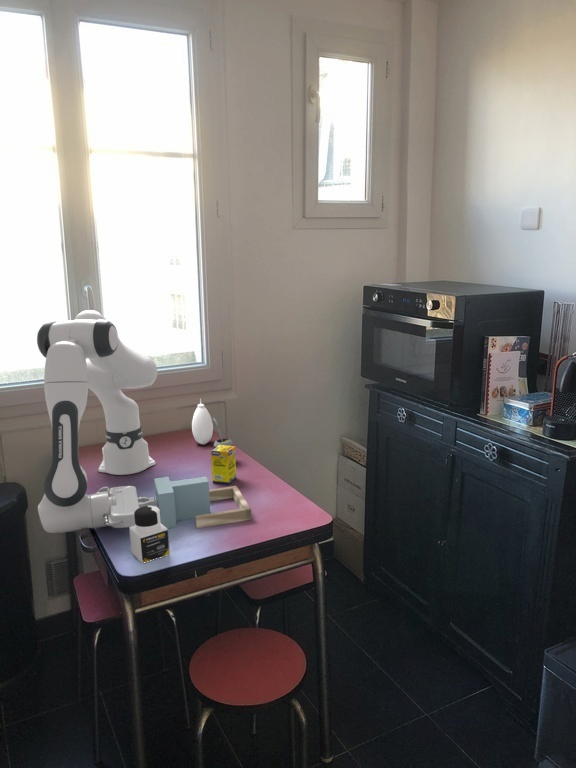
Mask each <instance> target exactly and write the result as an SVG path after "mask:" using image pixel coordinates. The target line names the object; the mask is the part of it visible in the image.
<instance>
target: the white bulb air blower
mask: <svg viewBox="0 0 576 768" xmlns="http://www.w3.org/2000/svg"><path fill="white" fill-rule="evenodd" d="M191 430H192V431H191V433H192V435H193V437H194V440H195V441H196V442H197V443H198V444H200V445H203V446H205V445H206V444H209V442H210V441H211V439H212V437H213V434H214V433H213V431H214V424H213V418H212V417H211V414H210V412H209V411H208V409H207V408H206V407H205V404H203V403H202V398H201V397H200V398H199V404H197V407H196V409H195V411H194V413H193V416H192V420H191Z"/></svg>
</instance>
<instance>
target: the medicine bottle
mask: <svg viewBox="0 0 576 768" xmlns="http://www.w3.org/2000/svg"><path fill="white" fill-rule="evenodd" d="M134 517H135V525H134V526H131V527H128V528H129V537H130V538H129V539H130V549H131V550H130V551H131V554H132V553H133V554H134V555H135V556H134V555H133V554H132V555H133V556H134V557H135V558H137V560H139V562H141V563H142V562H143V563H144V562H147V561H150V560H153V559H156V558H159V559H161V558H160V557H162V558H164V557H163V556H165V557H167V556H166V555H168V556H170V554H171V553H170V540H169V528H166V527H165V526H164V525H162V524H161V521H160V510H159V508H157V506H156V507H155V506H143V507H140V508H138V509H137V510H136V511H135V512H134ZM156 560H157V559H156ZM153 561H154V560H153ZM150 562H151V561H150ZM143 563H142V564H143ZM147 563H148V562H147ZM144 564H145V563H144Z"/></svg>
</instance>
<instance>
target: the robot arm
mask: <svg viewBox="0 0 576 768" xmlns="http://www.w3.org/2000/svg"><path fill="white" fill-rule="evenodd" d="M36 343H37V349H38V350H39V352H40V353H41V355H42V356H43V357H44V358H45V365H44V376H43V378H44V379H43V382H44V384H43V388H44V389H43V390H44V396H45V397H44V398H45V404H46V409H47V412H48V416H49V417H48V418H49V420H50V425H51V435H52V436H51V467H50V468H49V471H48V473H47V476H46V478H45V480H44V483H43V484H44V485H43V491H44V494H43V497H42V499H41V501H40V502H39V504H38V505H37V507H36V508H37V510H36V511H37V517H38V521H39V525H40V526H41V528H42V529H43V530H44V531H45V532H46V533H52V534H58V533H59V534H60V533H70V532H71V533H72V532H77V531H79V530H81V529H87V528H88V529H96V528H102V527H107V526H108V527H112V528H115V529H123V528H130V527H131V526H134V525H135V517H134V512H135V511H136V510H137V509H138V508H140V507H143V506H155V507H157V506H156V496H155V497H154V496H151V497H147V496H139V497H138V493H137V487H136V486H133V485H123V486H120V485H119V486H114V487H111V488H109V487H108V486H102V487H101V488H100V489H99V490H97V492H95V493H92V494H87V490H88V475H87V472H86V470H85V469H84V467H82V466H81V465H80V459H79V458H80V457H79V430H80V424H81V421H82V420H81V419H82V418H83V415H84V412H85V410H86V407H87V403H88V396H89V395H88V394H89V390H90V391H92V392H93V393H94V395H95V396H96V397H97V398H98V400H99V402H100V404H101V406H102V409H103V413H104V419H105V427H106V429H105V435H104V436H105V440H106V442H105V444H104V446H103V447H102V448H101V452H102V453H101V454H102V455H103V456H102V462H101V464H100V465H99V467H98V472H99V473H106V474H110V475H117V476H124V475H131V474H132V475H133V474H136V473H140V472H142V471H144V470H146V469H147V468H150V467H152V466H155V465H156V461H155V460H154V459H153V458H152V457H151V456H150V453H149V444H148V443H149V442H147V441H146V440H145V439H144V438H143V436H144V435H143V428H142V425H141V421H140V409H139V406H138V403H137V402H136V401H135V400H134V399H132V398H131V397H128V396H126V395H125V393H123V391H122V389H129V390H130V389H132V390H133V389H141V388H145V387H146V388H147V387H151V386H152V385H153V384H154V382H156V380H157V377H158V367H157V364H156V362H155V361H154V360H153V358H151V357H150V356H146V355H143V354H140V353H138V352H136V351H134V350H133V349H131V348H129V347H128V346H126V345H125V344H124V342H122V341H121V339H120V338H119V336H118V331H117V328H116V325H114V324H113V323H112V321H109V320H107V319H106V317H105V316H103V314H102V313H100V312H99V311H96V310H93V309H88V310H82V311H81V312H80V313H78V314H77V315H76V316H75V317H74V319H72V320H63V321H49V322H47V323H44V324H42V325H41V327H40V328H39V329H38V331H37V335H36Z"/></svg>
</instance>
